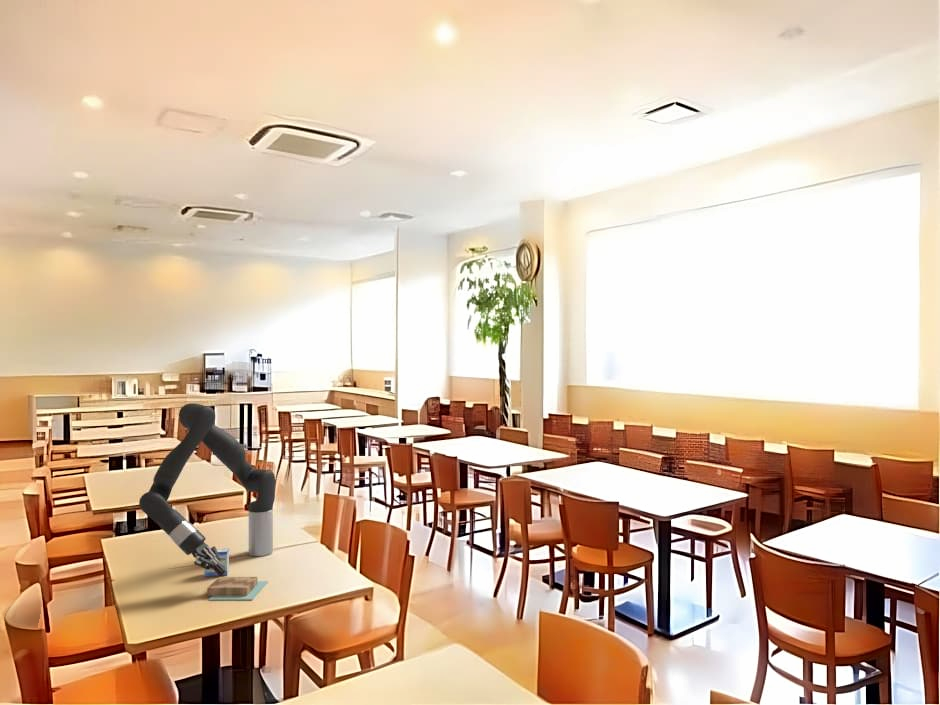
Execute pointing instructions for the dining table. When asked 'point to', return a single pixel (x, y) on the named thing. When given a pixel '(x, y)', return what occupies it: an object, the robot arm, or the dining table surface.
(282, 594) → the dining table surface
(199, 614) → the dining table surface
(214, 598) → the mat
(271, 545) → the robot arm
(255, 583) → the wooden block
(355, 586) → the dining table surface
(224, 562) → the medicine box
